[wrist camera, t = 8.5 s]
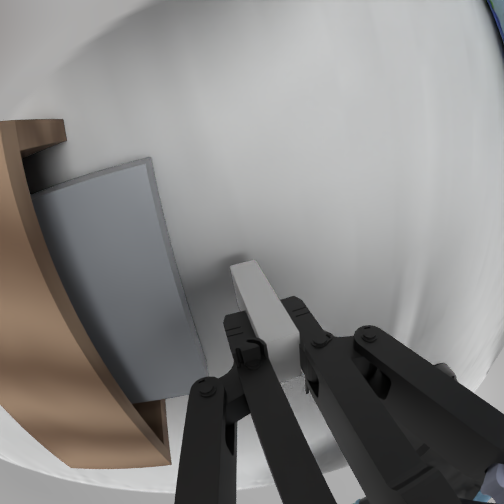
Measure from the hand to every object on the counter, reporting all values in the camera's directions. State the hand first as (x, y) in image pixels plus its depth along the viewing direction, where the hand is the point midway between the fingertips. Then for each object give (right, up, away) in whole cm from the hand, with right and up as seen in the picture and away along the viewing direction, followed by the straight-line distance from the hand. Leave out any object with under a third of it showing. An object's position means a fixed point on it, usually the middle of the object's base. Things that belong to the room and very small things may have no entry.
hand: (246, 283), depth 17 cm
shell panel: (-10, -1, 0) cm, 10 cm away
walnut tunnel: (-13, -2, -1) cm, 13 cm away
